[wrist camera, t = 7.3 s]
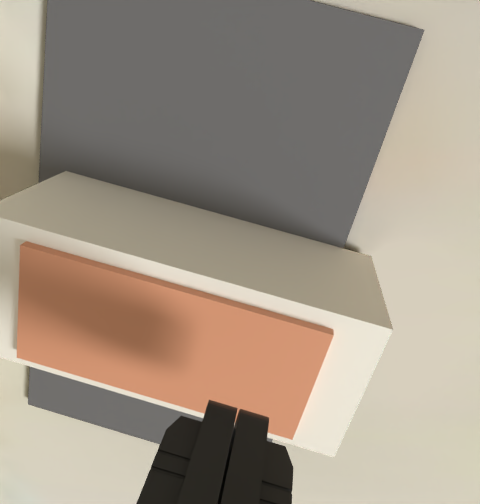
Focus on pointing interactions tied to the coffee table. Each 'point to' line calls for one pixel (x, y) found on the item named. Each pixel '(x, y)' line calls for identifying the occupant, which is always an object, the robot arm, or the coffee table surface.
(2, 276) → the tall block
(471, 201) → the coffee table surface
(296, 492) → the coffee table surface
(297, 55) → the mat
